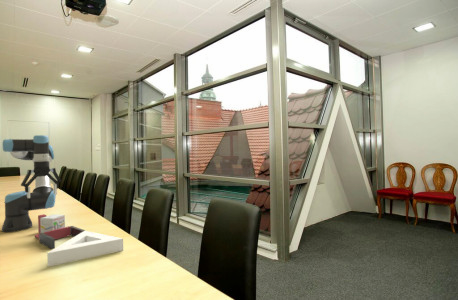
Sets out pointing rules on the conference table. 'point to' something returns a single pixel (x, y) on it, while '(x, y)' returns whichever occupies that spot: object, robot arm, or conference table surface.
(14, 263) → the conference table surface
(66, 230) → the pull frame
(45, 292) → the conference table surface
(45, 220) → the ink box
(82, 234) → the triangle block
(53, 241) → the lane rails
